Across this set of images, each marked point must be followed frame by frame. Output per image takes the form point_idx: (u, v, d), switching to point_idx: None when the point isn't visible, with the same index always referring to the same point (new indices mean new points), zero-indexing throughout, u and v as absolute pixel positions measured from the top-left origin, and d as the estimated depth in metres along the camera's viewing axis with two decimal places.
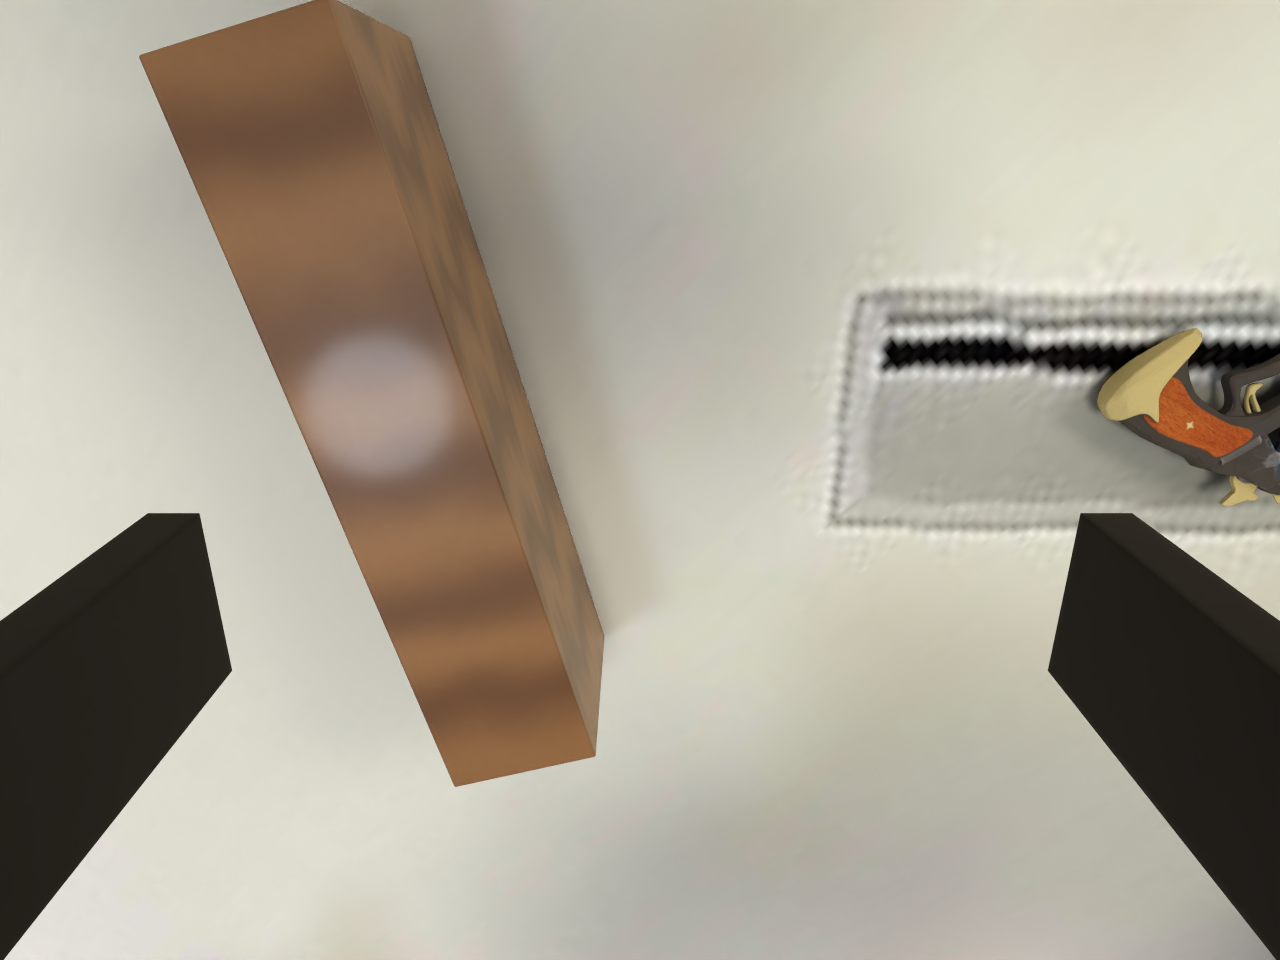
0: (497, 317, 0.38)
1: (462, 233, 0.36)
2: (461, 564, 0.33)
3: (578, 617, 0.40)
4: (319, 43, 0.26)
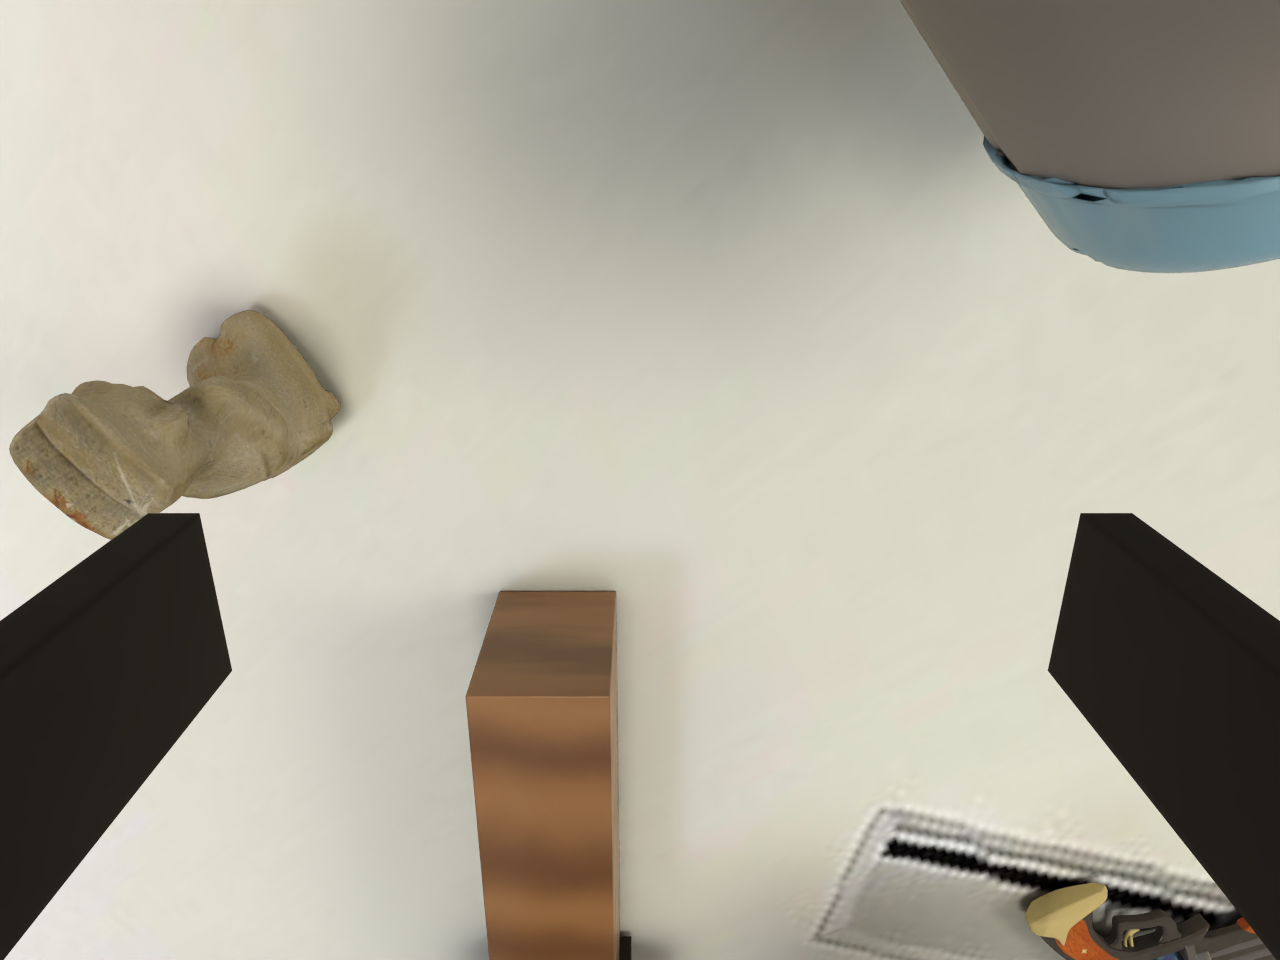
0: None
1: (616, 734, 0.47)
2: None
3: None
4: (592, 717, 0.38)
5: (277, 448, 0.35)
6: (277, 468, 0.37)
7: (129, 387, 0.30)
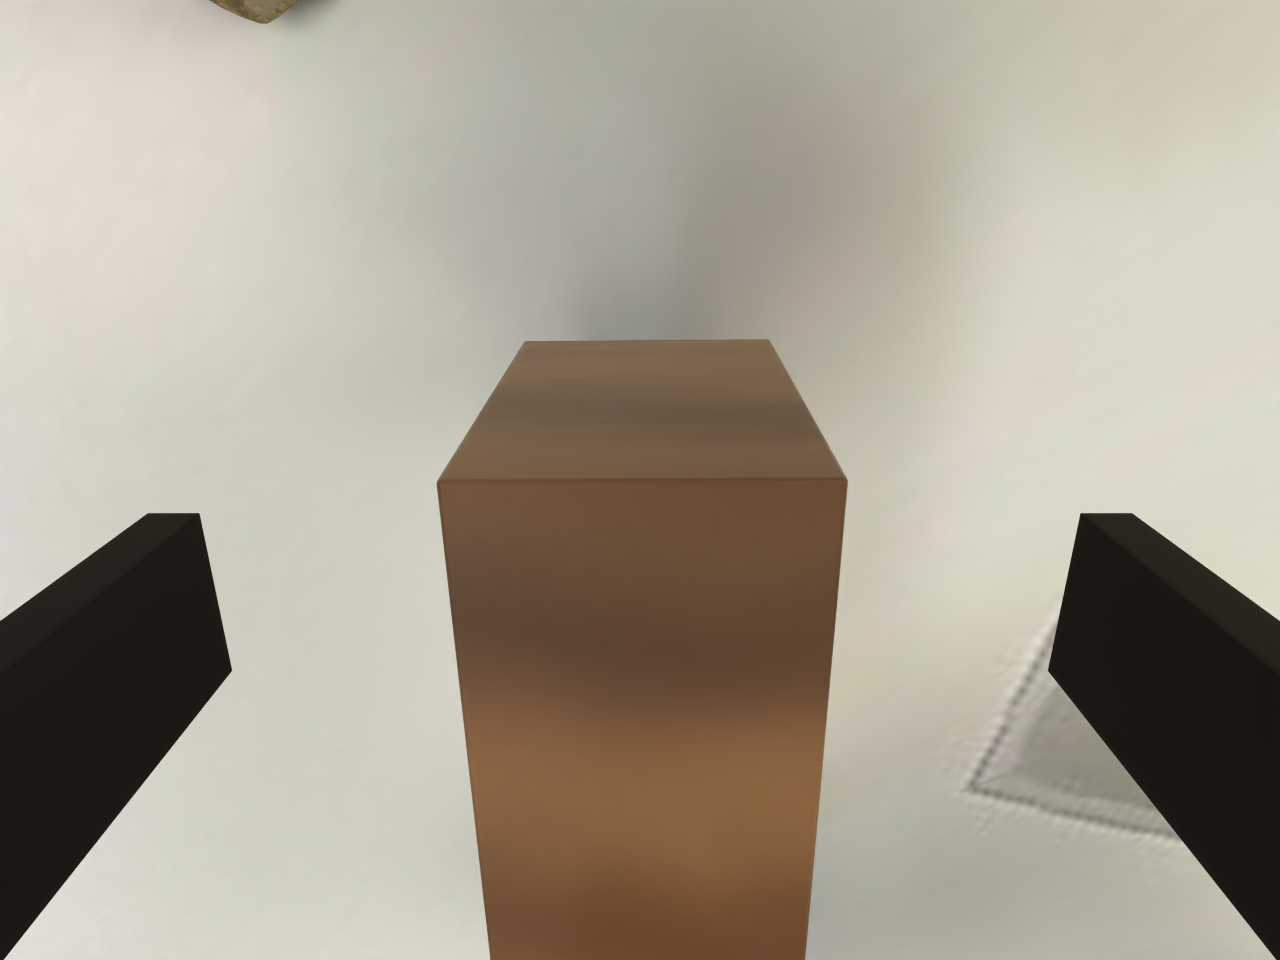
0: None
1: None
2: None
3: None
4: (792, 546, 0.14)
5: None
6: None
7: None
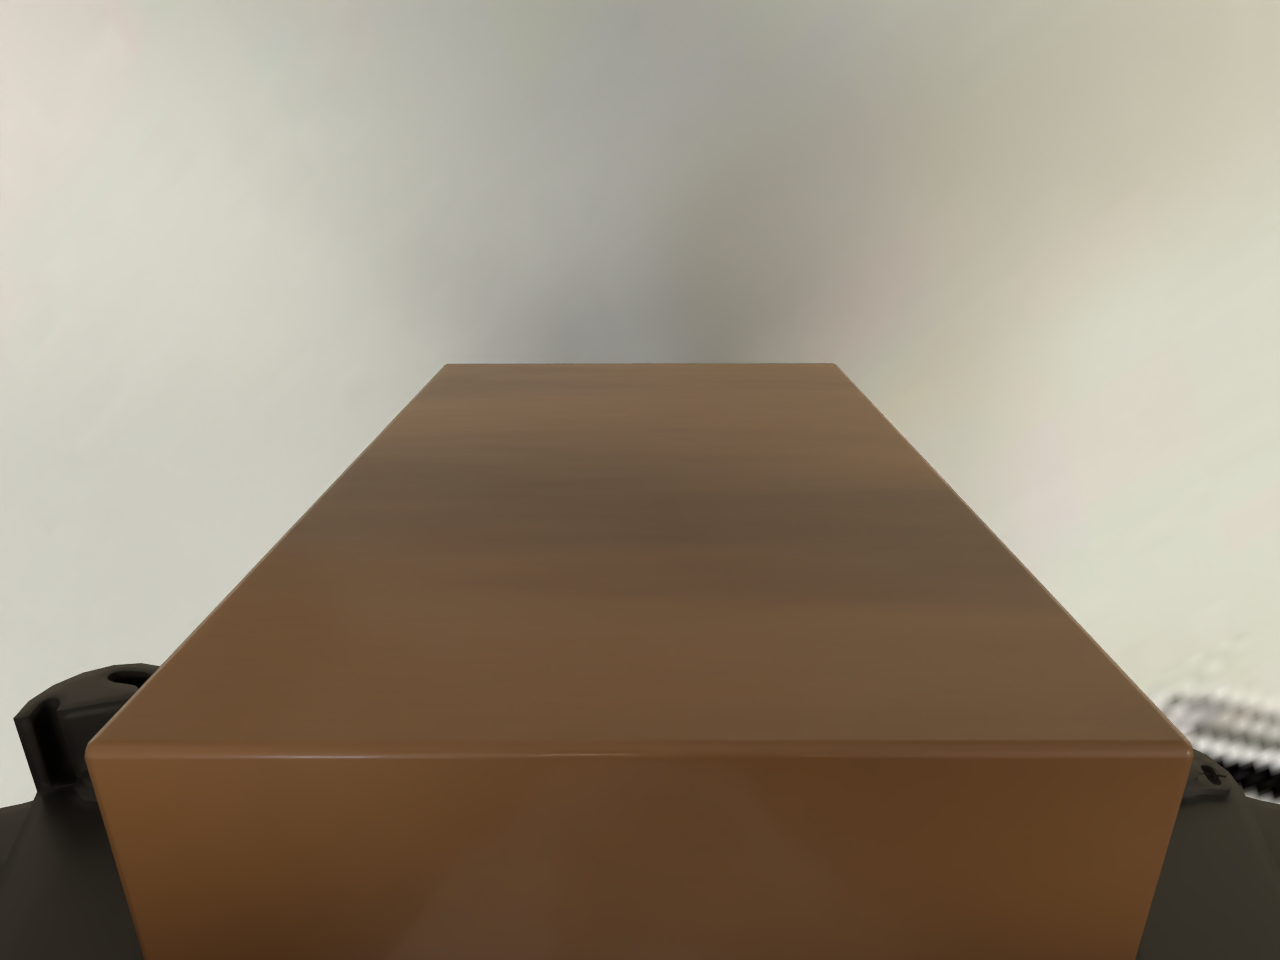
0: None
1: None
2: None
3: None
4: (1028, 903, 0.05)
5: None
6: None
7: None
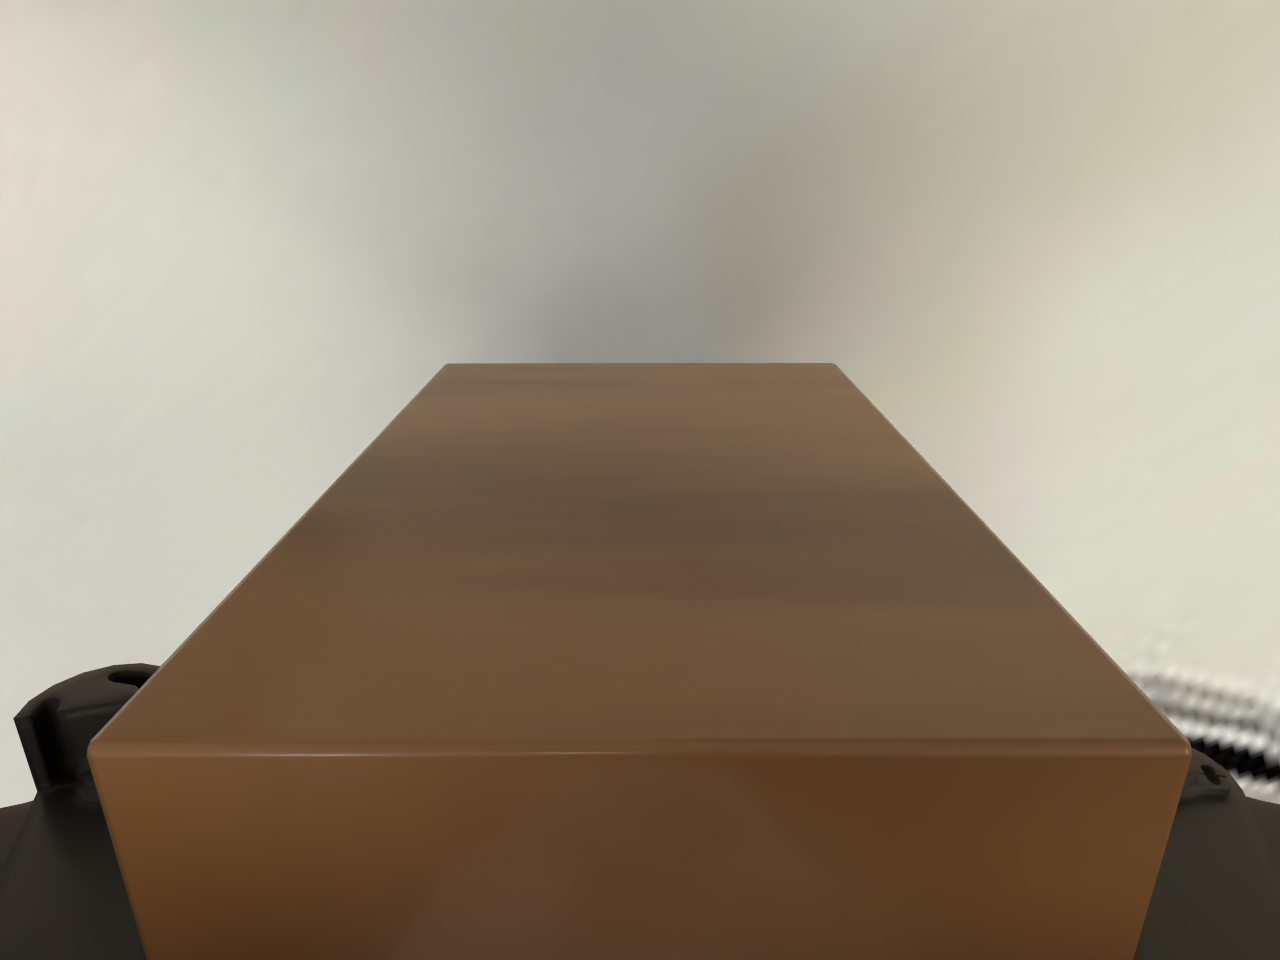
0: None
1: None
2: None
3: None
4: (1025, 901, 0.05)
5: None
6: None
7: None
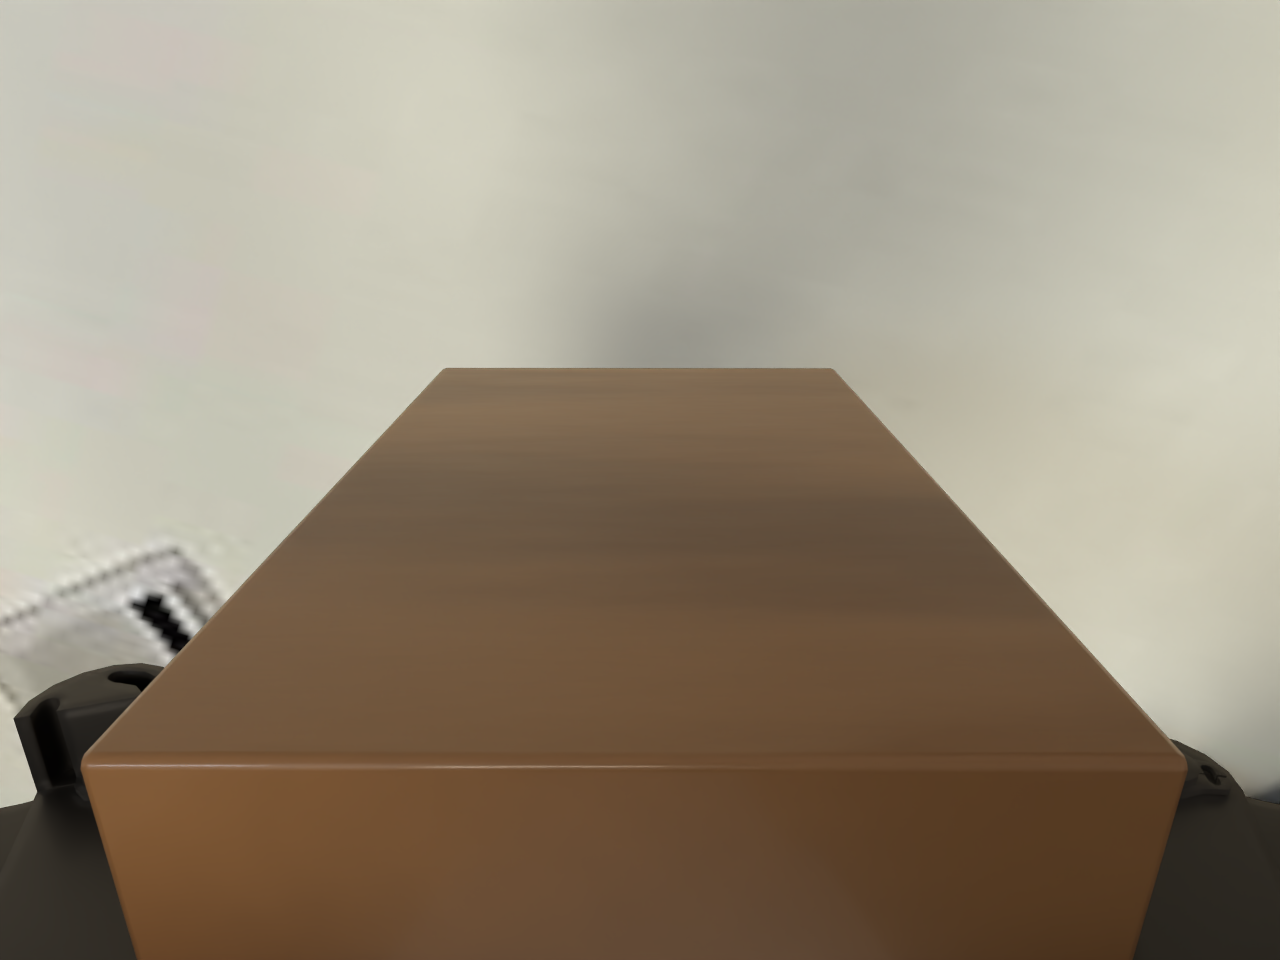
0: None
1: None
2: None
3: None
4: (1022, 913, 0.05)
5: None
6: None
7: None
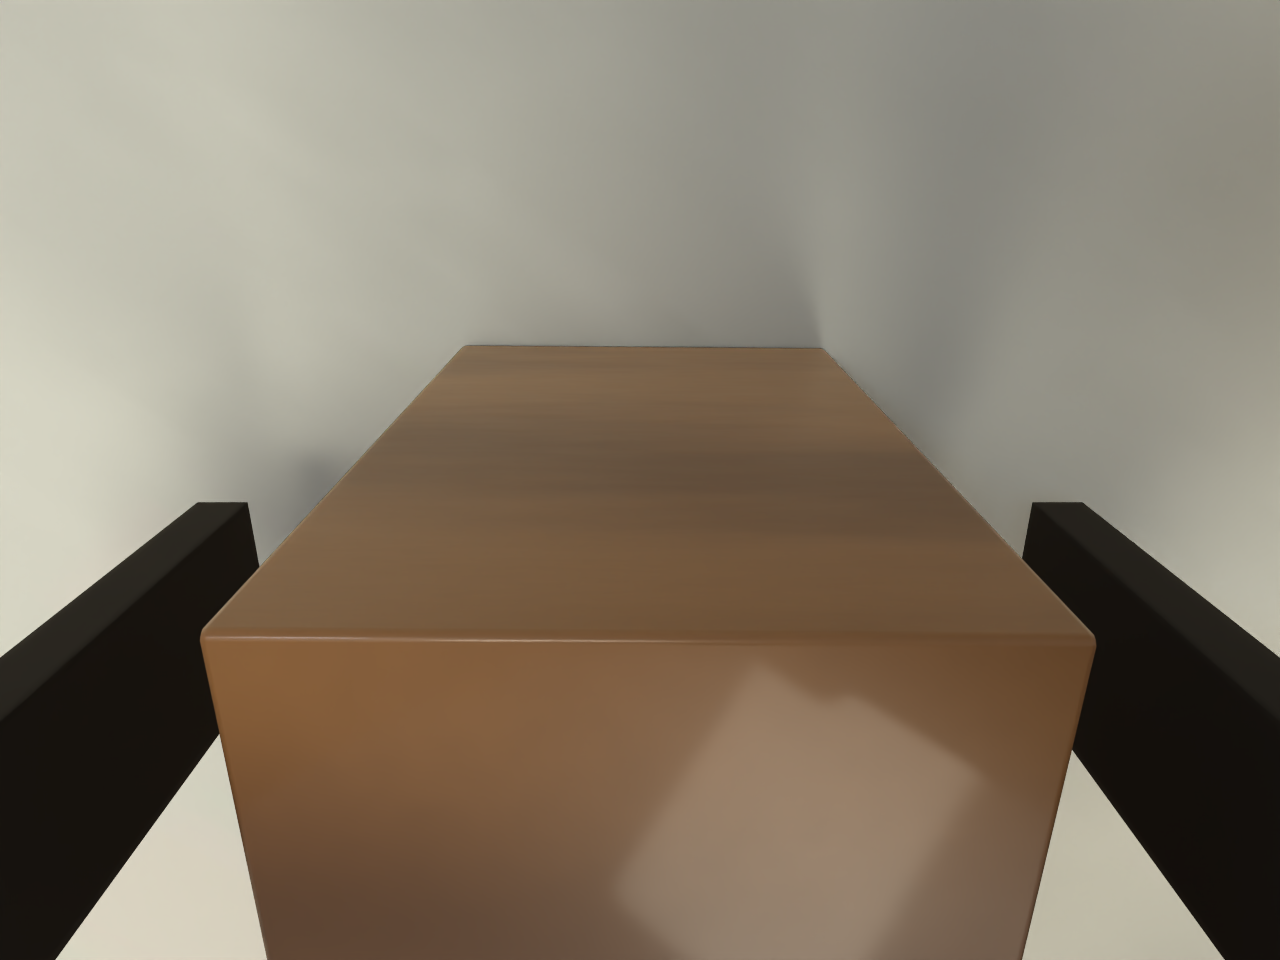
0: None
1: None
2: None
3: None
4: (965, 771, 0.06)
5: None
6: None
7: None
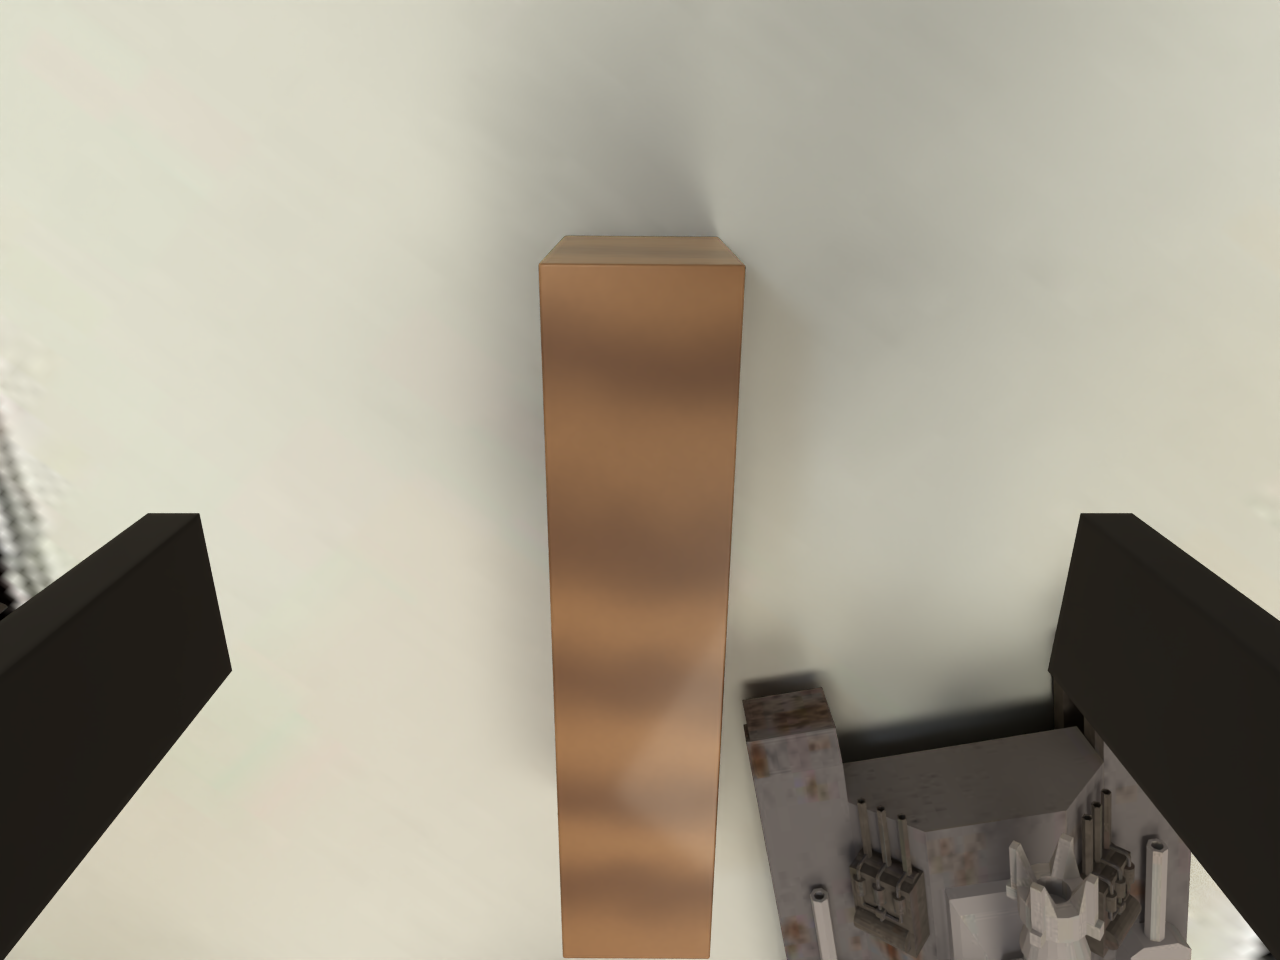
0: None
1: None
2: (655, 770, 0.33)
3: None
4: (718, 302, 0.27)
5: None
6: None
7: None
